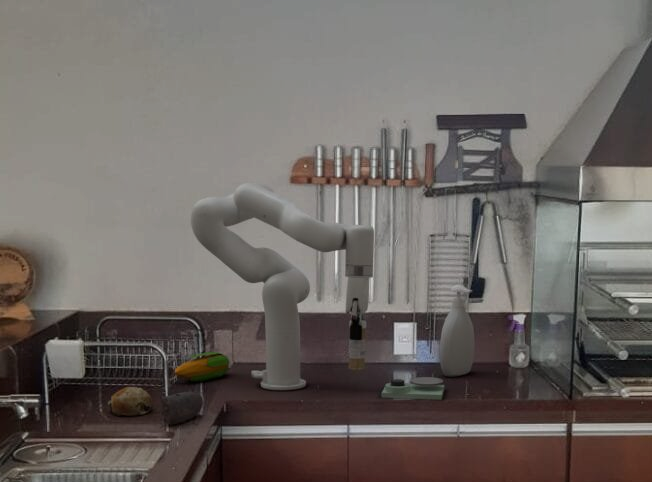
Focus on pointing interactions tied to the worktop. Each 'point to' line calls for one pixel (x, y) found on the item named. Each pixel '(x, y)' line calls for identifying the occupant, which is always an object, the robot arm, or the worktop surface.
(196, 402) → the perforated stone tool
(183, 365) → the corn
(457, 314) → the soap bottle
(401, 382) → the power button
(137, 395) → the bread roll
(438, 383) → the platter
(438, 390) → the scale
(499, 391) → the worktop surface
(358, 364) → the sprinkles bottle
